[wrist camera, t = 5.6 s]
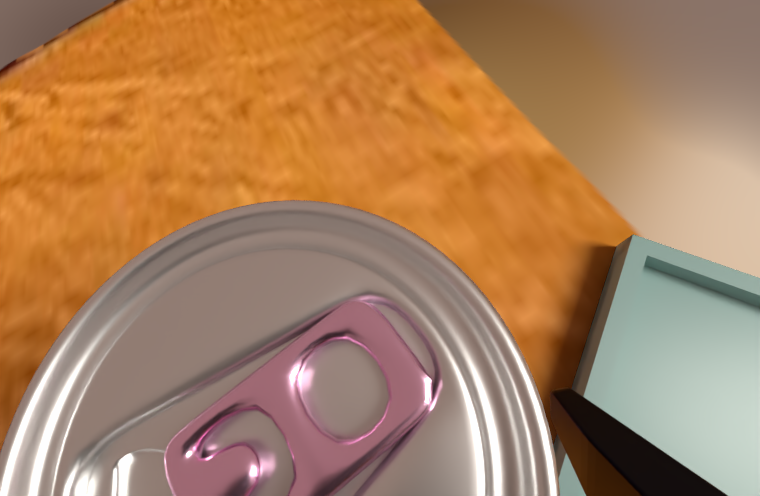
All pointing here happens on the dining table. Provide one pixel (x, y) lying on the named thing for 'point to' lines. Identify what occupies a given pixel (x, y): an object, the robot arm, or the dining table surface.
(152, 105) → the dining table surface
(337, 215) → the beverage can
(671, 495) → the robot arm
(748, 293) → the tray
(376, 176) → the dining table surface
